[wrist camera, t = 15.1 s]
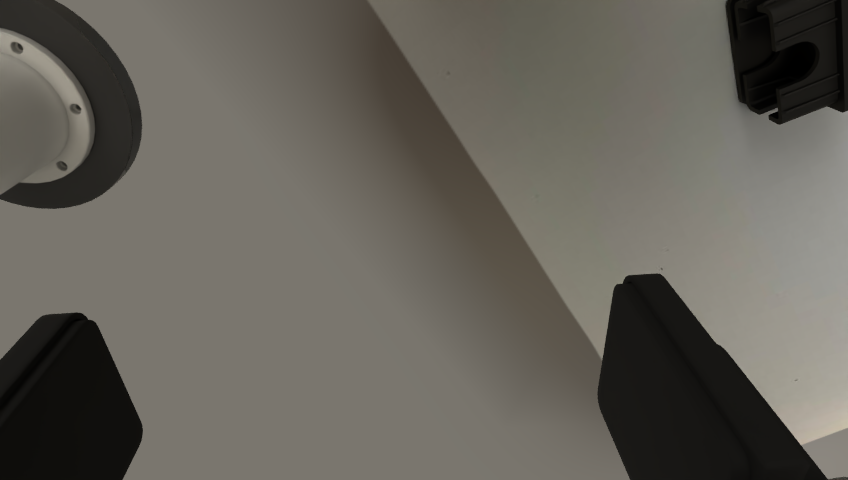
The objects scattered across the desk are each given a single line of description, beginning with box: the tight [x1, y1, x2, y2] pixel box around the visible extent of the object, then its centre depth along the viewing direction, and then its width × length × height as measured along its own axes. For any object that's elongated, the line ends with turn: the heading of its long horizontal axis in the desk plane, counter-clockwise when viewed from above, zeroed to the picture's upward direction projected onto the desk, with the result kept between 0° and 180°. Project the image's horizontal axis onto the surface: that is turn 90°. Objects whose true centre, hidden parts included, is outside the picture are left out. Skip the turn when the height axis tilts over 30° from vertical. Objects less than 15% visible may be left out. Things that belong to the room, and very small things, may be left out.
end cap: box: [726, 0, 848, 125], centre depth 40 cm, size 10×7×7 cm
